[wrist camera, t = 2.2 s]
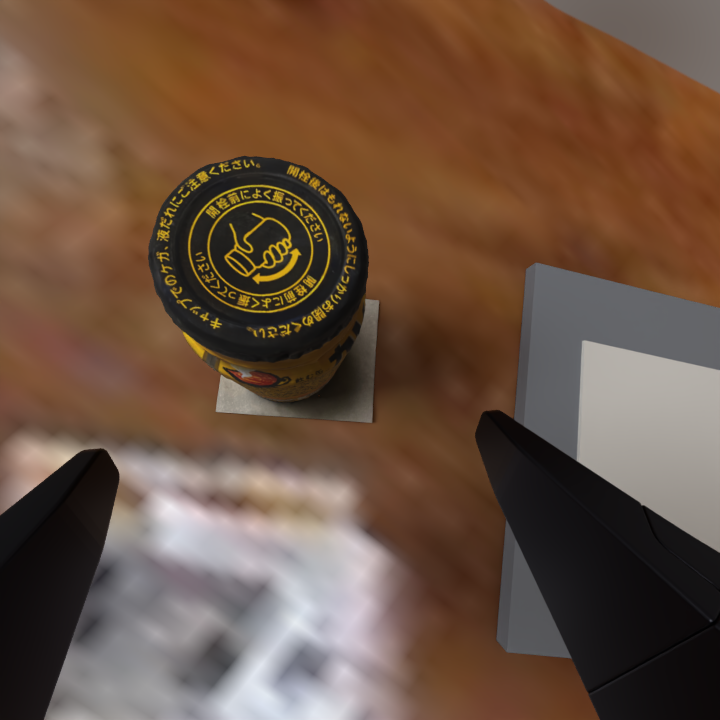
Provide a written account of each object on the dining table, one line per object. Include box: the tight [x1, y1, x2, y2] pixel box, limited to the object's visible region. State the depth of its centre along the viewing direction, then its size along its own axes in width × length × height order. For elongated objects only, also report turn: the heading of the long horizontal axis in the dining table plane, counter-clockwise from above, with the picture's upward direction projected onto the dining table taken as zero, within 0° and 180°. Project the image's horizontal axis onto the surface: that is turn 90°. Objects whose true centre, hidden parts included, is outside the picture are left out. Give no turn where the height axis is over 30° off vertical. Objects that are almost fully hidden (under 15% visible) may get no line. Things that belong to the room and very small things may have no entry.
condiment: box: [148, 156, 379, 423], centre depth 14 cm, size 7×8×12 cm
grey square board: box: [496, 263, 720, 658], centre depth 22 cm, size 22×20×1 cm
